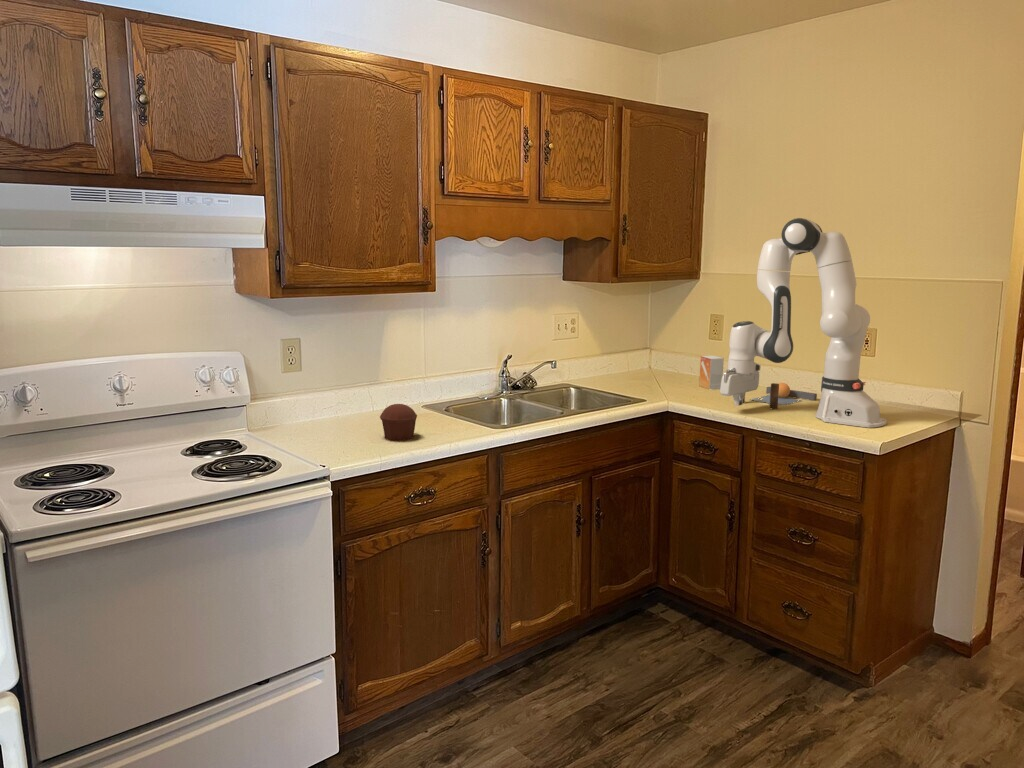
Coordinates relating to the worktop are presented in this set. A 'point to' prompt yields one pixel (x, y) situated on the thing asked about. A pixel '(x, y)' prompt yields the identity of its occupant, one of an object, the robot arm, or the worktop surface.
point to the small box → (711, 372)
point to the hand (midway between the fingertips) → (738, 405)
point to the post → (774, 395)
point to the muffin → (398, 422)
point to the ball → (783, 390)
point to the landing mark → (780, 400)
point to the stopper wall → (798, 394)
